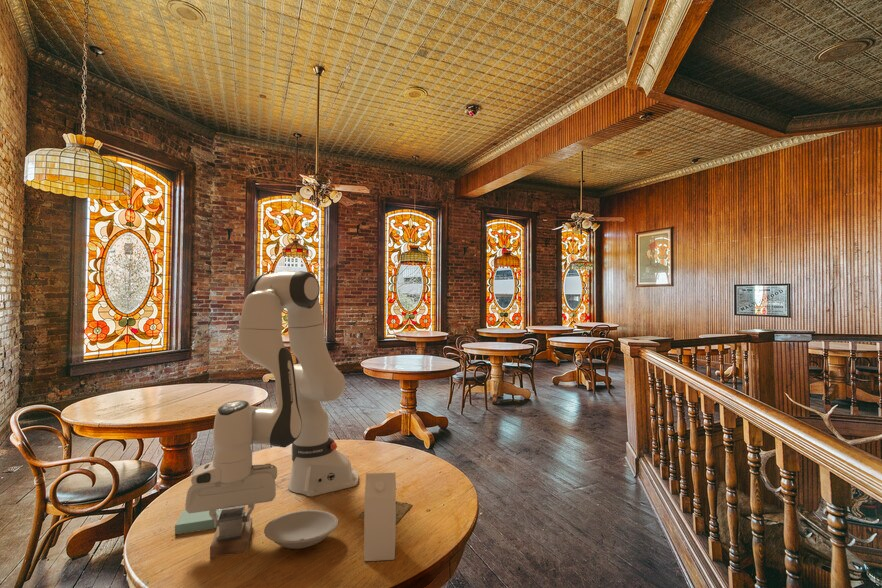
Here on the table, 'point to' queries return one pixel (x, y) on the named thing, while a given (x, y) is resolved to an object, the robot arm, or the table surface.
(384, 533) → the milk carton
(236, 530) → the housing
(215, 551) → the stand
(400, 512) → the speckled grey square slab
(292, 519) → the dish
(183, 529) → the stand
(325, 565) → the table surface
